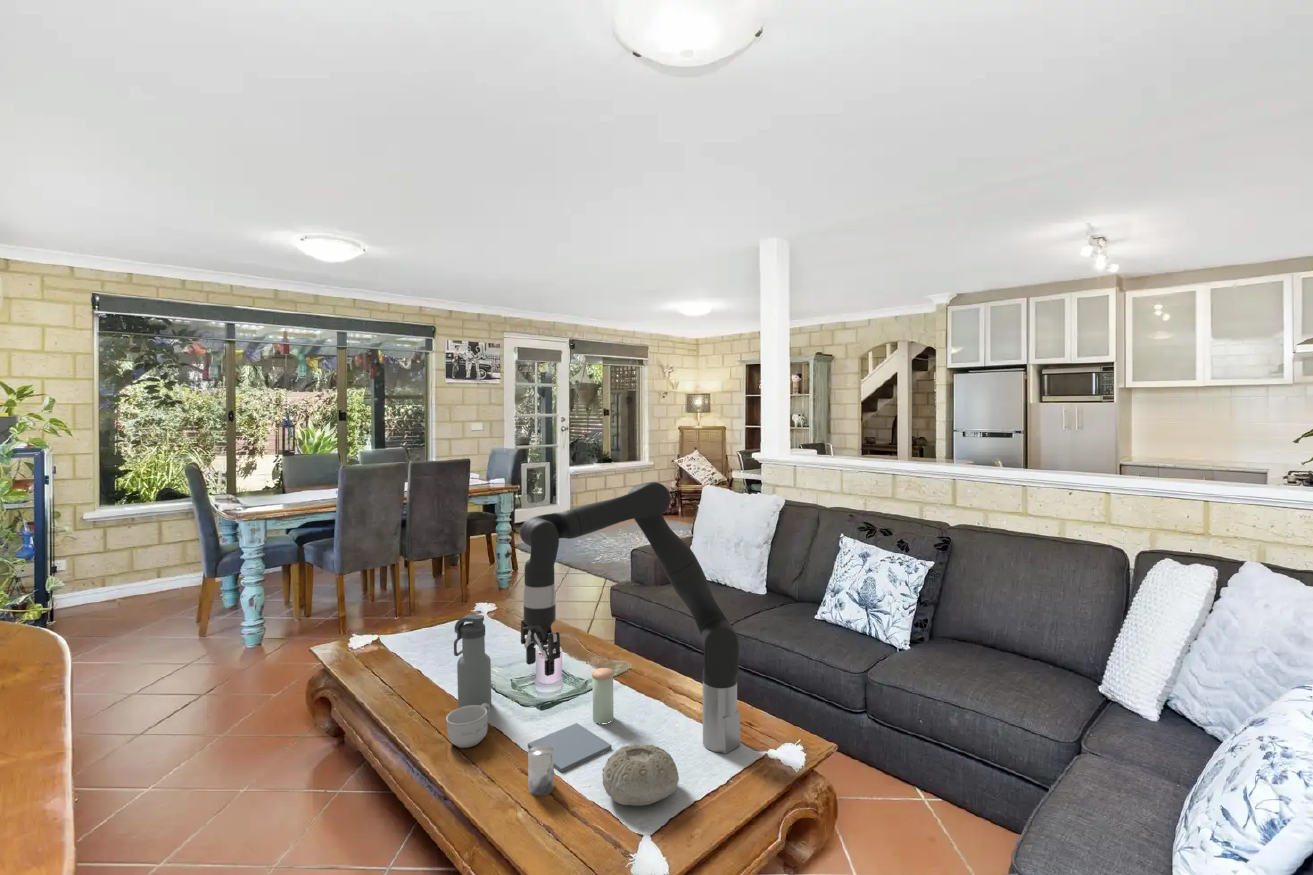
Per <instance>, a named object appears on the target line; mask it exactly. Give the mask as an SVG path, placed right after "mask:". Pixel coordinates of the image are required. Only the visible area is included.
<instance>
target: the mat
mask: <svg viewBox="0 0 1313 875" xmlns="http://www.w3.org/2000/svg"><path fill="white" fill-rule="evenodd" d="M537 745H549V746H551V747H552V748H553V750H554V769H556V771H558V772H560V773H563V772H565V771H567V770H570V769H572V768H573V767H576V766H578V765H581V764H582V763H585V762H587V761H589V760H591V759H593V758H595V757H597V756H600V755H601V753H602V754H603V752H604V753H605V752H607V751H610V750H612V744H611V743H609V742H608V741H606V740H604V738H601V737H600V736H598V735H597V734H595V733H593V732H592V731H590V730H588V729H587V728H585V727H584V726H582V725H580V724H579V723H577V722H575V723H574V724H571V725H569V726H565V727H563V728H562V729H559V730H557V731H554V732H552V733H549V734H548V735H544V736H542V737H540V738H537V739H535V740H533V741H531V742H528V743H527V748H528V749H529V750H530V749H531V748H532V747H534V746H537Z"/></svg>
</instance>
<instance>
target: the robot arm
mask: <svg viewBox="0 0 1313 875" xmlns="http://www.w3.org/2000/svg"><path fill="white" fill-rule="evenodd" d="M671 499H672V498H671V494H670V491H669V490H668V488H667V487H666V486H665V485H664V484H663V483H660V482H656V481H655V482H654V481H649V482H645V483H642V484H639V485H638V484H637V485H635V486H633V487H632V488H630V489H629V491H628V492H627V494H624V495H622V496H617V497H614V498H611V499H606V500H602V501H597V502H592V503H588V504H585V505H581V506H577V507H573V508H570V509H567V510H564V511H561V512H554V513H545V514H541V515H536V516H533V517H530V518H528V519H526V520H525V521H524V522H523V523H522V525H521V526H520V530H519V536H520V538H521V540H522V542H523V543H524V544H525V545H527V546H529V547H530V556H529V559H527V561H525V564H524V569H523V570H524V572H523V573H524V587H523V588H524V589H523V620H521V621H520V644H521V645H523V646H524V649H525V650H526V652H525V654H526V656H525V657H526V660H525V661H526V662H525V663H526V664H527V665H529V666H530V665H533V664H536V661H537V660H536V659H537V657H536V656H537V655H536V654H537V653H536V652H537V650H536V646H538V648H539V652H541V653H542V655H543V657H544V675H545V676H546V677H549V676H552V675H554V674H555V660H556V659H560V658H561V643H560V642H561V641H560V640H561V635H560V632H559V631H557V632H553V630H552V625H553V624H554V622H556V617H557V616H556V615H557V614H556V613H557V610H556V609H557V606H556V605H557V604H556V602H557V601H556V595H557V594H556V593H557V592H556V586H555V563H556V559H557V557H558V556H557V554H558V550H559V546H560V545H559V544H560V539H568V540H569V539H570V540H572V539H576V538H580V537H583V536H585V535H588V534H592V533H594V532H597V531H601V530H603V529H606V528H608V527H612V526H613V525H617V524H619V523H622V522H625V521H626V522H627V521H630V520H634V521H635V523H636V524H637V525H638V527H639V528H640V530H641V531H642V532H643V534H644V536H645V537H646V539H647V541H648V543H649V544H650V546H651V548H652V551H653V552H654V554H655V556H656V558H657V560H658V561H659V563H660V565H661V567H662V569H663V571H664V574H665V575H666V577H667V579H668V580H669V582H670V584H671V586H672V588H673V589H674V591H675V592H676V594H677V595H678V597H679V598H680V599H681V601H682V602H683V603H684V604H685V605H686V607H687V608H688V610H689V612H690V613H691V615H692V617H693V620H694V621H695V624H696V627H697V628H698V632H699V634H700V638H701V642H702V644H703V669H702V744H703V746H704V748H706V749H707V750H709V751H712V752H715V753H723V754H725V755H726V754H728V753H730V752H732V751H733V750H735V749H737V748H739V747H740V746H741V711H740V710H738V675H739V671H740V670H739V668H740V661H739V660H740V659H739V658H740V644H739V642H740V641H739V637H738V635H737V632H736V630H735V629H734V626H733V625H732V624H731V622H730V621H729V619H727V617H726V615H725V614H724V613H723V611H722V609H721V608H720V606H719V604H717V602H716V599H715V598H714V596H713V594H712V590H711V587H710V584H709V582H708V579H707V577H706V575H705V572H704V570H703V568H702V566H701V564H700V562H699V561H698V558H697V556H696V555H695V554H694V552H693V550H692V549H691V548H690V547H689V545H688V544H687V543H686V542H684V540H682V538H681V537H679V535H677V534H676V532H675V531H673V530H672V528H670V526H669V524H668V523H667V521H666V519H665V518H664V515H663V514H665V513H666V511H667V510H668V509H669V508H670V504H671V502H672V501H671Z"/></svg>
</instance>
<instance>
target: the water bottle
mask: <svg viewBox="0 0 1313 875" xmlns="http://www.w3.org/2000/svg"><path fill="white" fill-rule="evenodd" d="M484 621H485V615H482V614H471V613H470V614H467V615H465V616H463V617H462V618H460V619H459V620H457V621H456V622H455V625H454V633H455V634H456V639H454V641H453V655H454V656H455V657H458V656H460V655H461V657H459V658H458V660H457V664H456V669H457V670H456V673H457V674H456V675H457V709H458V708H461V707H465V706H470V705H478V706H481V705H482V704H483V703H487V704H489V706H490V707H491V705H492V669H491V666H492V664H491V661H492V660H491V658H490V655H488V654H487V653H486V643H485V638H486V637H485V636H486V625H485V623H484ZM461 639H462V640H461ZM460 640H461V641H462V642H461V643H462V644H461V645H462V649H461V650H460V651H459V652H458V649H457V648H458V647H457V645H458V642H459V641H460Z"/></svg>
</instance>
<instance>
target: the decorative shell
mask: <svg viewBox="0 0 1313 875" xmlns="http://www.w3.org/2000/svg"><path fill="white" fill-rule="evenodd" d="M679 781H680V777H679V771H678V768H677V765H676V762H675V761H674V759H673V757H672V755H671V754H670V753H669V752H668V751H666V750H665V749H663V748H661V747H659V746H656V745H654V744H650V745H649V744H646V745H645V744H642V745H640V744H636V743H635V744H630V745H625V746H622V747H620V748H618V749H617V750H616V751H614V752H613V753H612V755H611V756H610V757H609V758H607V761H606V762H605V765H604V767H603V768H602V786H603V788H604V791H605V792H606V794H607V796H609V797H610V798H611V799H613V801H615V803H617V804H619V805H623V806H638V807H639V806H646V805H651V804H655V803H656V802H659V801H661V800H664V799H666V798H667V797H669V796H670V795H671V794H673V793H674V792H675V791H676V788H677V787H678V784H679Z"/></svg>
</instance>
